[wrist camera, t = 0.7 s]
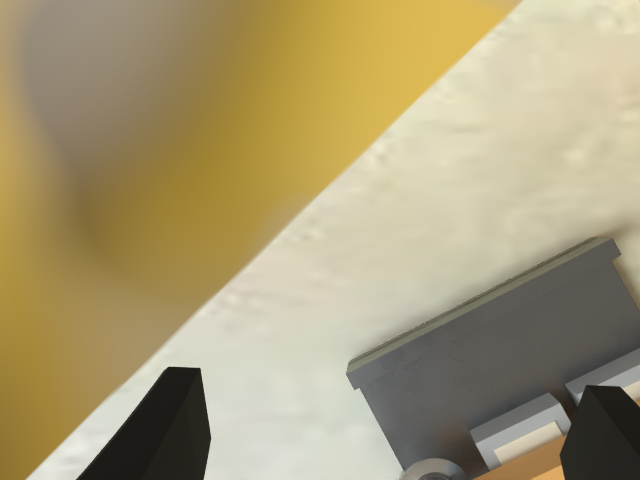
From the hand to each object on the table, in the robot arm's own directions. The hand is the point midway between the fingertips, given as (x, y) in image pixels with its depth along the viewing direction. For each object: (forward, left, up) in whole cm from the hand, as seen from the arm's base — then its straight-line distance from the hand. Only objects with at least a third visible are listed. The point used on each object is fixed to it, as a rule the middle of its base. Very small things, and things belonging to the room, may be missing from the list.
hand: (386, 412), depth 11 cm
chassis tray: (-10, -4, -23) cm, 25 cm away
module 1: (-12, -3, -22) cm, 25 cm away
